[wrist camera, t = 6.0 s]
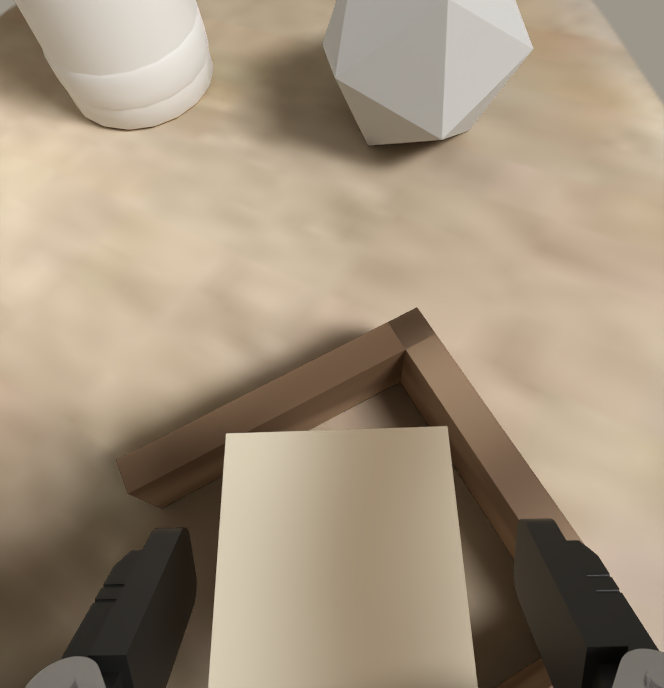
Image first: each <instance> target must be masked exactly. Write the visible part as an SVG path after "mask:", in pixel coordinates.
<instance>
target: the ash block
mask: <svg viewBox="0 0 664 688" xmlns="http://www.w3.org/2000/svg"><path fill="white" fill-rule="evenodd" d="M208 688H478V685H477V676H476V667H475V659H474V650H473V642H472V633H471V624H470V616H469V607H468V599H467V590H466V581H465V573H464V564H463V556H462V547H461V538H460V530H459V521H458V513H457V504H456V495H455V487H454V478H453V470H452V461H451V452H450V444H449V435H448V427H447V426H437V427H407V428H377V429H347V430H317V431H287V432H256V433H226V441H225V455H224V469H223V484H222V498H221V512H220V526H219V541H218V555H217V569H216V583H215V598H214V612H213V626H212V640H211V655H210V669H209V683H208Z"/></svg>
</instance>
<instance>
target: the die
mask: <svg viewBox="0 0 664 688" xmlns="http://www.w3.org/2000/svg"><path fill="white" fill-rule="evenodd" d="M322 45H323V48H324V51H325V53H326V56H327V58H328V61H329V64H330V66H331V69H332V72H333V74H334V77H335V79H336V81H337V83H338V85H339V87H340V89H341V91H342V93H343V96H344V98H345V100H346V102H347V104H348V106H349V108H350V110H351V112H352V114H353V116H354V118H355V120H356V122H357V124H358V126H359V128H360V130H361V132H362V134H363V136H364V138H365V140H366V142H367V144H368V146H369V145H382V144H395V143H408V142H421V141H433V140H443V139H446V138H449V137H452V136H455V135H458V134H461V133H463V132H466V131H469V130H470V129H471V127H472V126H473V125H474V124H475V122H476V121H477V120H478V118H479V117H480V116H481V115H482V113H483V112H484V111H485V110H486V108H487V107H488V106H489V104H490V103H491V102H492V101H493V99H494V98H495V97H496V96H497V94H498V93H499V92H500V90H501V89H502V88H503V87H504V85H505V84H506V83H507V82H508V80H509V79H510V78H511V77H512V75H513V74H514V73H515V71H516V70H517V69H518V68H519V66H520V65H521V64H522V63H523V61H524V60H525V59H526V57H527V56H528V55H529V54H530V52H531V51H532V50H533V47H532V44H531V41H530V39H529V36H528V33H527V31H526V28H525V25H524V23H523V20H522V17H521V15H520V12H519V9H518V7H517V4H516V1H515V0H337V1H336V4H335V7H334V10H333V13H332V16H331V19H330V22H329V25H328V28H327V31H326V35H325V38H324V41H323V44H322Z"/></svg>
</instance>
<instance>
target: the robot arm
mask: <svg viewBox="0 0 664 688" xmlns="http://www.w3.org/2000/svg"><path fill="white" fill-rule="evenodd" d="M514 583H515V589H516V594H517V597H518V600H519V603H520V605H521V608H522V610H523V613H524V615H525V618H526V620H527V623H528V625H529V628H530V630H531V633H532V635H533V638H534V640H535V643H536V645H537V648H538V650H539V653H540V655H541V658H542V660H543V663H544V665H545V668H546V670H547V673H548V676H549V678H550V681H551V683H552V686H553V688H664V652H661V651H659V650H658V648H657V647H656V645H655V644H654V642H653V640H652V639H651V637H650V636H649V634H648V633H647V631H646V630H645V628H644V627H643V625H642V623H641V622H640V620H639V619H638V617H637V616H636V614H635V613H634V611H633V609H632V608H631V606H630V605H629V603H628V602H627V600H626V599H625V597H624V595H623V594H622V593H620V591H619V588H618V586H617V585H616V583H615V582H614V580H613V578H612V577H610V575H609V572H608V571H607V569H606V568H605V566H604V564H603V563H602V561H601V560H600V558H599V557H598V555H596V554H595V553H594V552H593V551H591V550H590V549H589V548H588V547H587V546H585V545H584V544H583V543H582V542H580V541H579V540H566V539H565V537H564V535H563V534H562V532H561V530H560V529H559V527H558V525H557V524H556V522H555V521H554V520H553V519H552V518H539V519H520V520H519V521H518V525H517V536H516V548H515V560H514ZM196 586H197V582H196V573H195V566H194V560H193V554H192V548H191V541H190V535H189V531H188V529H187V528H186V527H183V528H155V529H154V530H153V531H152V533H151V535H150V537H149V539H148V541H147V543H146V545H145V546H144V548H143V550H139V551H130V552H129V553H128V554H127V555H126V556H125V557H124V558H123V559H122V560H121V561H119V562H118V563H117V564H116V565H115V566H114V567H113V569H112V571H111V573H110V574H109V576H108V578H107V580H106V581H105V583H104V587H103V588H101V590H100V592H99V593H98V595H97V597H96V599H95V603H93V604H92V606H91V607H90V609H89V611H88V613H87V614H86V616H85V618H84V620H83V621H82V623H81V625H80V627H79V628H78V630H77V632H76V634H75V635H74V637H73V639H72V641H71V642H70V644H69V646H68V648H67V649H66V651H65V653H64V655H63V656H62V658H61V660H59V661H57V662H54V663H52V664H51V665H49V666H47V667H46V668H44V669H43V670H41V671H40V672H39V673H38V674H37V675H35V676H34V677H33V678H32V679H31V680H30V682H29V683H28V684H27V685H26V687H25V688H166V685H167V682H168V679H169V676H170V674H171V671H172V668H173V665H174V662H175V659H176V656H177V653H178V650H179V647H180V644H181V641H182V638H183V635H184V633H185V630H186V627H187V624H188V621H189V618H190V615H191V612H192V609H193V606H194V602H195V597H196Z"/></svg>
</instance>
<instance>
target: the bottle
mask: <svg viewBox="0 0 664 688" xmlns="http://www.w3.org/2000/svg"><path fill="white" fill-rule="evenodd" d="M14 1H15V3H16V4H17V6H18V8H19V10H20V11H21V13H22V15H23V16H24V18H25V20H26V22H27V23H28V25H29V27H30V28H31V30H32V32H33V33H34V35H35V37H36V39H37V40H38V42H39V44H40V45H41V47H42V49H43V54H44V56H45V58H46V60H47V62H48V63H49V65H50V67H51V69H52V70H53V72H54V74H55V75H56V77H57V78H58V80H59V81H60V83H61V84H62V85H63V86H64V88H65V89H66V90H67V91H68V93H69V95H70V97H71V98H72V100H73V102H74V103H75V105H76V106H77V107H78V109H79V110H80V111H81V112H82V114H83V115H84V116H85V117H86V118H88V119H90V120H92V121H94V122H96V123H98V124H100V125H102V126H105V127H113V128H120V129H128V130H131V129H139V128H146V127H154V126H157V125H159V124H162V123H165V122H167V121H170V120H172V119H175V118H177V117H179V116H180V115H182V114H183V113H184V112H186V111H187V110H188V109H190V108H191V107H193V106H194V105H195V104H196V103H198V101H199V100H200V99H201V97H202V96H203V94H204V93H205V92H206V90H207V89H208V88H209V86H210V83H211V79H212V74H213V70H214V67H213V64H212V60H211V57H210V53H209V50H208V47H209V44H208V39H207V35H206V31H205V28H204V24H203V21H202V18H201V15H200V12H199V9H198V6H197V3H196V0H14Z"/></svg>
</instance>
